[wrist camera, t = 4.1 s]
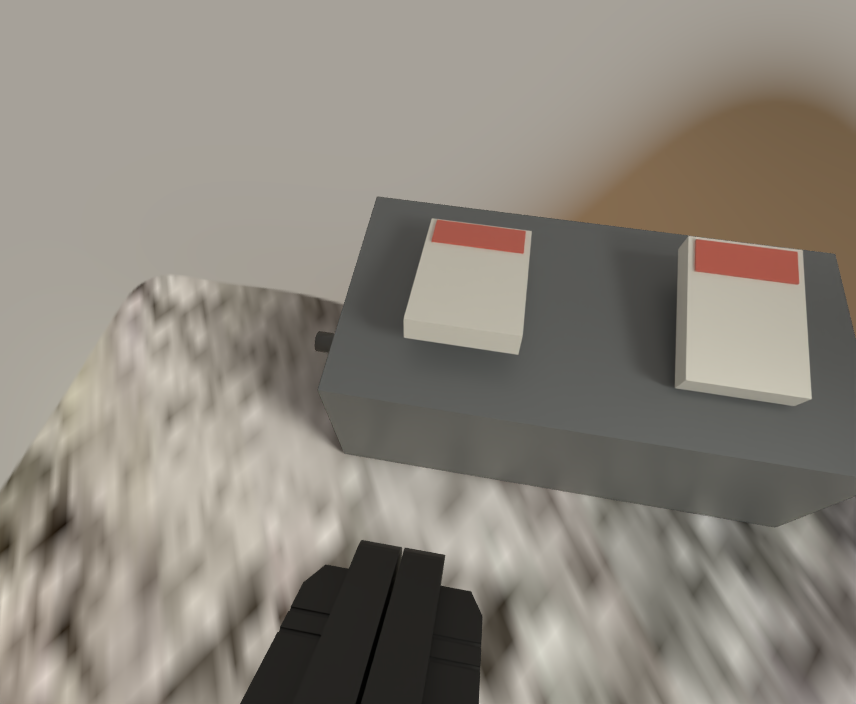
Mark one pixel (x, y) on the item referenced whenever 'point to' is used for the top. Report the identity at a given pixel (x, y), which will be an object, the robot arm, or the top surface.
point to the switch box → (586, 379)
